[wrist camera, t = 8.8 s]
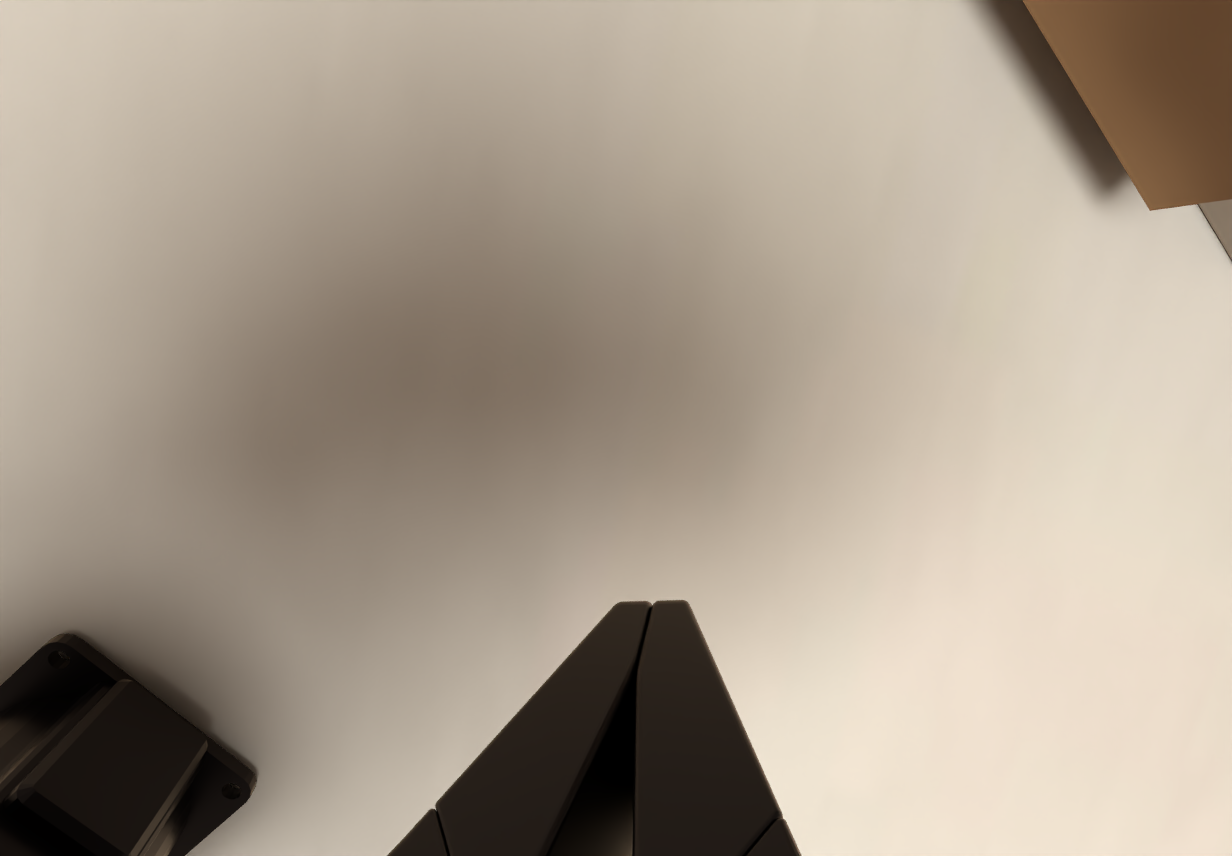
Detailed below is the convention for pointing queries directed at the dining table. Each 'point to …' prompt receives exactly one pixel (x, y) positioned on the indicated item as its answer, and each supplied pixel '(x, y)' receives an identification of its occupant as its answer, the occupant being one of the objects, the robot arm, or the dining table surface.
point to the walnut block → (1153, 88)
